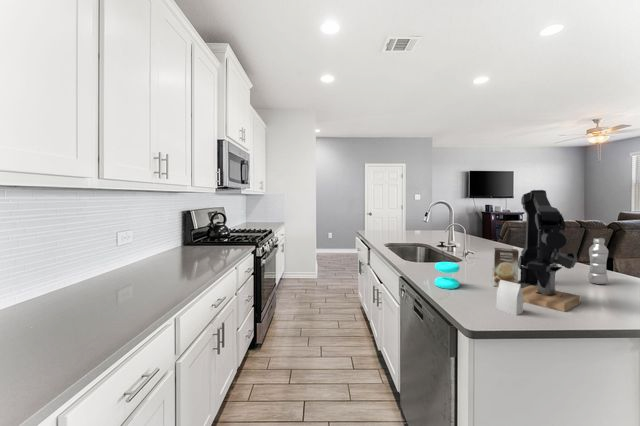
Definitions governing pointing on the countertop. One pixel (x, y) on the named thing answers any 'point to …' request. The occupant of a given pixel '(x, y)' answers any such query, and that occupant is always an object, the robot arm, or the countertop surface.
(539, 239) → the robot arm
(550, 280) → the peg
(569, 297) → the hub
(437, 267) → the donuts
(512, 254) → the coffee box
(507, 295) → the white upright block
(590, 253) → the plastic bottle
